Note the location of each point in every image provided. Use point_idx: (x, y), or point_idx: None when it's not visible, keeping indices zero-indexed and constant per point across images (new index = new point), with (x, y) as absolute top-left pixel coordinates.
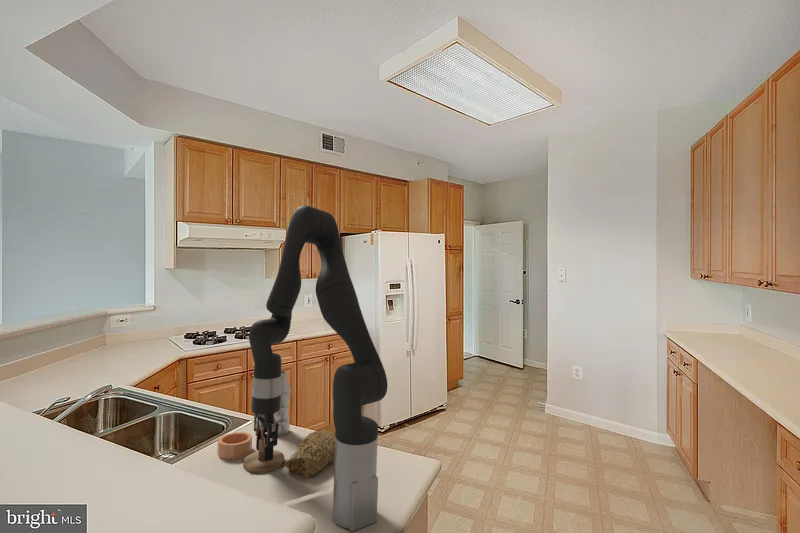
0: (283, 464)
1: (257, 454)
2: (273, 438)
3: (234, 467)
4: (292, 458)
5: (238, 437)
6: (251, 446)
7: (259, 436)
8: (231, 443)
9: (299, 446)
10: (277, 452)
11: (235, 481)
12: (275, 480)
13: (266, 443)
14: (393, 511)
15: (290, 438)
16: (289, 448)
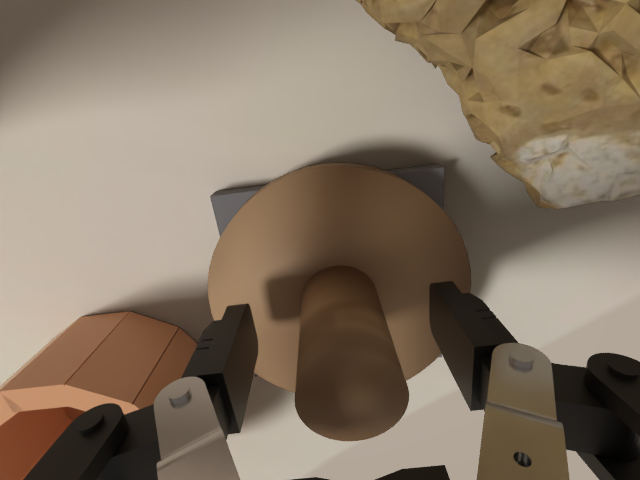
0: (417, 180)
1: (261, 325)
2: (551, 408)
3: (287, 395)
4: None
5: (12, 425)
6: (117, 339)
7: (228, 419)
8: (47, 425)
9: (459, 30)
10: (279, 203)
11: (427, 400)
12: (533, 246)
13: (584, 459)
14: None
15: None
16: (123, 63)
